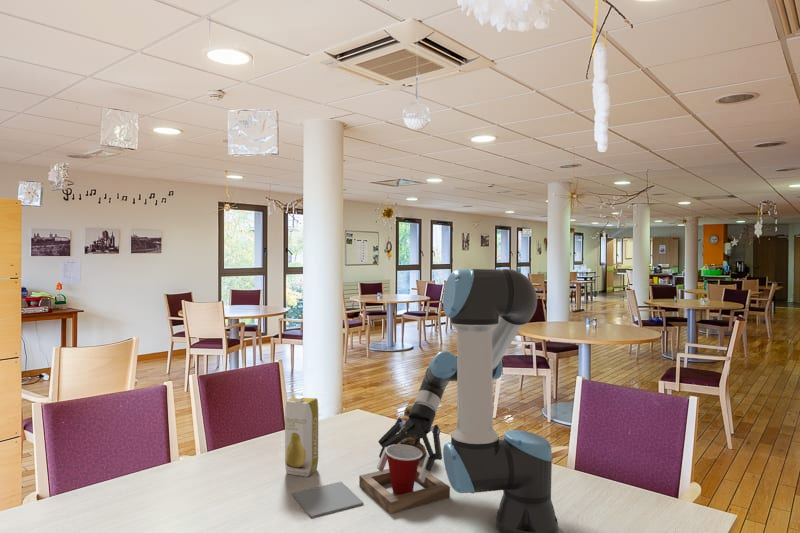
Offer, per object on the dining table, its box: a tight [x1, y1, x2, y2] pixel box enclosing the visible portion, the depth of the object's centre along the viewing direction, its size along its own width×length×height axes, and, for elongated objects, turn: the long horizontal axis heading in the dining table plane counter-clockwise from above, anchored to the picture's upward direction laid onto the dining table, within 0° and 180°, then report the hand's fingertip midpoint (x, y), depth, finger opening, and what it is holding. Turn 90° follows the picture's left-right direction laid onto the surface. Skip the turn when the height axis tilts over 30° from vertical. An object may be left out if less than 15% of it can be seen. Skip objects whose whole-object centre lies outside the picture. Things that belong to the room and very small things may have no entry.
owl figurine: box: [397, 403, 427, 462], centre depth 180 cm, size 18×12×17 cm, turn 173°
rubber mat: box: [291, 481, 365, 518], centre depth 146 cm, size 15×15×1 cm
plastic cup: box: [385, 444, 423, 496], centre depth 151 cm, size 11×11×12 cm
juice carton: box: [284, 395, 319, 478], centre depth 164 cm, size 9×8×24 cm
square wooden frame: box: [358, 465, 451, 514], centre depth 151 cm, size 19×19×3 cm
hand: (399, 475), depth 149 cm, fingers open, 13 cm apart
